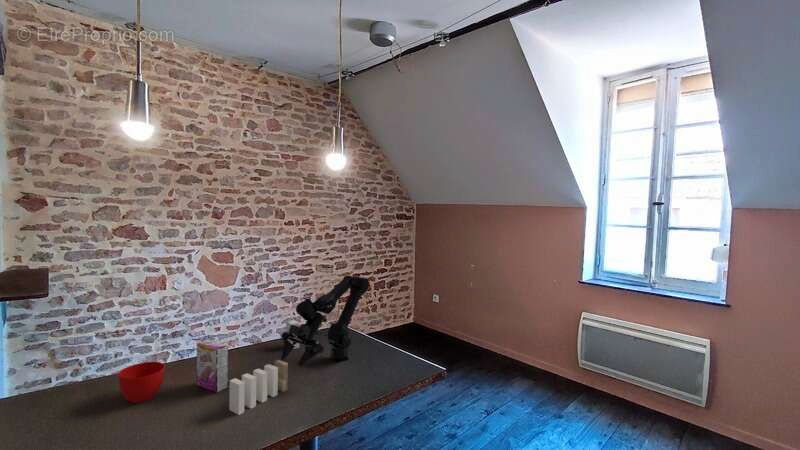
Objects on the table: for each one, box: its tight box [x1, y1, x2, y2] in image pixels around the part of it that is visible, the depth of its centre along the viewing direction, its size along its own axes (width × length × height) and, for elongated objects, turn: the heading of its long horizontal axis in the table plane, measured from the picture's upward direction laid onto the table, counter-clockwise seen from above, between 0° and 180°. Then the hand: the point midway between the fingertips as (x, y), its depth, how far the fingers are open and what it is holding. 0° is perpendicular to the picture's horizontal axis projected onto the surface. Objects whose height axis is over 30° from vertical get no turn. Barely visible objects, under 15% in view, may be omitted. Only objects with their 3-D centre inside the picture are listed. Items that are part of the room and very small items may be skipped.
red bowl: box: [118, 361, 166, 404], centre depth 128 cm, size 13×17×10 cm
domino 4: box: [263, 363, 279, 398], centre depth 132 cm, size 2×5×10 cm, turn 59°
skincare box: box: [285, 319, 300, 350], centre depth 175 cm, size 6×4×12 cm
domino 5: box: [273, 359, 289, 393], centre depth 136 cm, size 2×5×10 cm, turn 59°
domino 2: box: [241, 372, 257, 409], centre depth 124 cm, size 2×5×10 cm, turn 59°
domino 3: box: [252, 368, 268, 403], centre depth 128 cm, size 2×5×10 cm, turn 59°
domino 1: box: [228, 377, 245, 416], centre depth 120 cm, size 2×5×10 cm, turn 59°
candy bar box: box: [196, 338, 229, 394], centre depth 135 cm, size 11×5×16 cm, turn 65°
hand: (290, 362), depth 139 cm, fingers open, 9 cm apart
